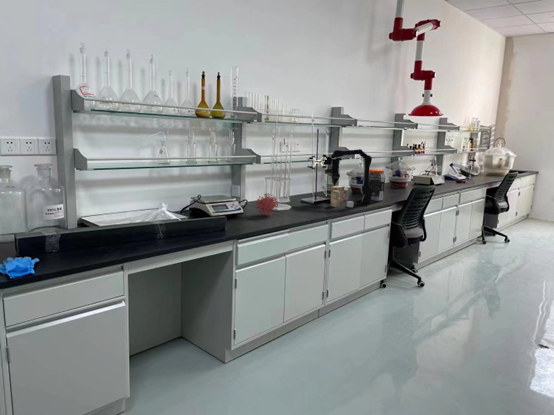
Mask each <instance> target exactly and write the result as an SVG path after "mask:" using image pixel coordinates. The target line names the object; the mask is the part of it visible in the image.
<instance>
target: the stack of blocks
mask: <svg viewBox="0 0 554 415" xmlns="http://www.w3.org/2000/svg"><path fill="white" fill-rule="evenodd" d="M335 190H337V191H340V201H339V203H340V202H343V201H348V200H349V199H350V198H349V197H350V188H345V185H344V186H343V185H333V186H331V187H330V199H329V201H330V202H331V196H332V191H335Z"/></svg>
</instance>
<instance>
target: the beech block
mask: <svg viewBox="0 0 554 415" xmlns="http://www.w3.org/2000/svg"><path fill="white" fill-rule="evenodd" d="M330 198H331V201H330V206H331V207H333V208H334V207H335V208H337V207H340V202H339V199H340V191H337V190H335V191H332V196H331V195H330Z"/></svg>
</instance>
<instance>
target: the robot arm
mask: <svg viewBox="0 0 554 415" xmlns="http://www.w3.org/2000/svg"><path fill="white" fill-rule="evenodd" d="M353 155H354V156H355V155H359V156H360V157H361V158H362V161H363V167H364V168H363V180H362V185H360V190H359V191H360V192H361V193H362V199H361V204H363V205H372V200H371V196H372V194H371V193H370V191H369V185H368V181H369V170H370V166H371V165H372V164H371V163H372V159H373V157H372V156H371V155H369V154H367V153H366V152H364V151H363V150H362V149H361V148H360V149H349V150H343V149H334V150H333V151H332V154H331V155H329V156H326V155H324V156H323V158H324V157H326V158H327V160H325V162H324V165H325V166H330V165H331V167H330V168H326V169H324V170H323V171H324V174H325V175H328V174H329V176H330V177H331V183H332V185H333V186H337V183H338V181H339V179H340V178H341V175H340V172H339V171H340V161H343V159H342V158H341V157H344V156H353Z"/></svg>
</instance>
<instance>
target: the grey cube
mask: <svg viewBox="0 0 554 415" xmlns="http://www.w3.org/2000/svg"><path fill="white" fill-rule="evenodd" d="M346 207H348V208H354V201H353V200H352V201H351V200H350V201H348V200H346Z"/></svg>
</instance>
